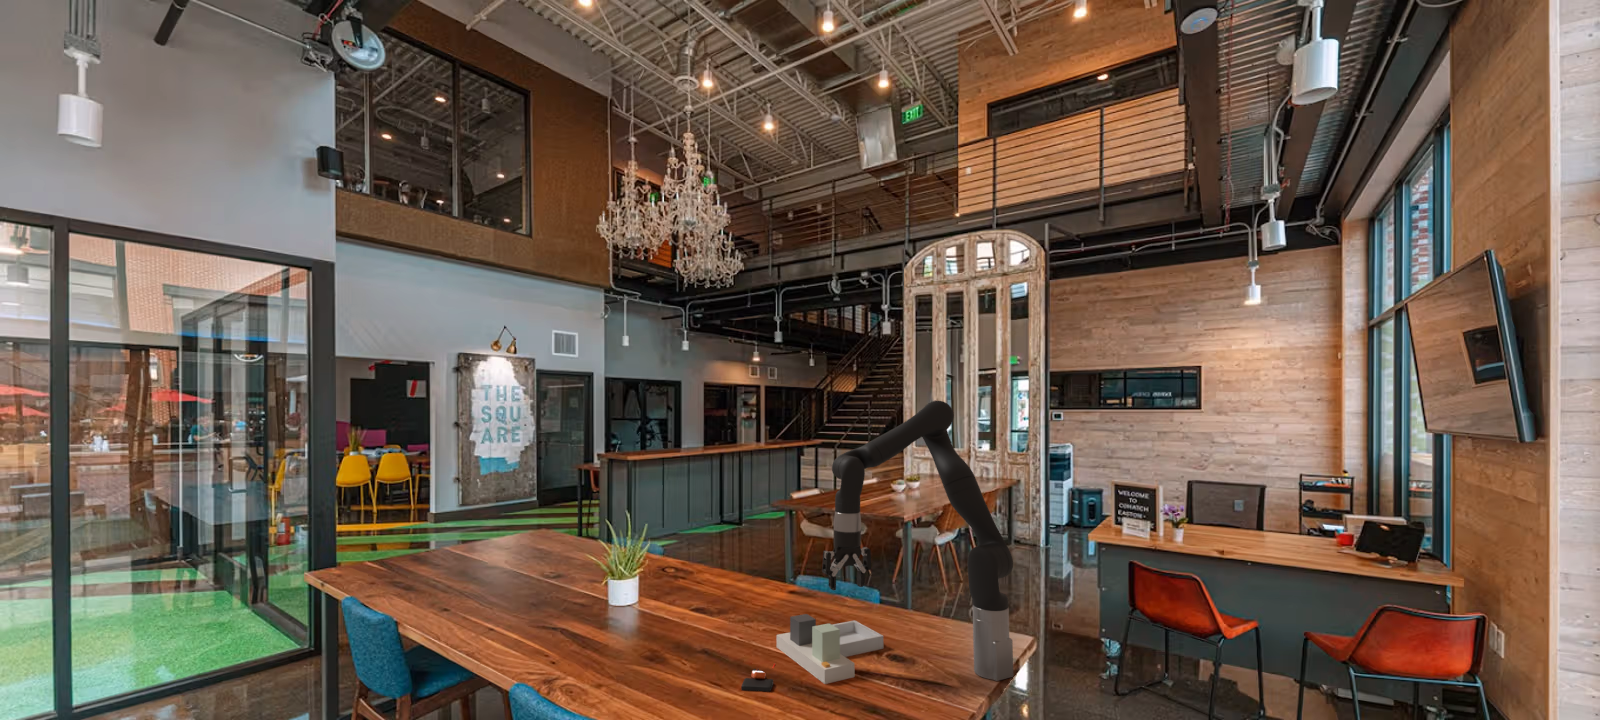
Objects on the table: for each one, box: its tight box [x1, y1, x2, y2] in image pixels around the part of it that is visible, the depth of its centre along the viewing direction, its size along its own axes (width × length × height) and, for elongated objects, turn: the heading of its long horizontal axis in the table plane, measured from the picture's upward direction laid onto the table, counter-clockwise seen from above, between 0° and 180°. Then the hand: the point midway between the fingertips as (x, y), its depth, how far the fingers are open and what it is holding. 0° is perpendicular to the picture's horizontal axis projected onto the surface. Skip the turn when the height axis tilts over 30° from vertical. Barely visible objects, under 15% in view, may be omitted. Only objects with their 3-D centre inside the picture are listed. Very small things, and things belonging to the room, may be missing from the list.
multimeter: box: [740, 662, 776, 693], centre depth 162 cm, size 18×12×3 cm, turn 169°
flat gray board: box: [776, 632, 856, 685], centre depth 172 cm, size 28×9×4 cm, turn 28°
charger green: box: [812, 622, 840, 662], centre depth 166 cm, size 5×5×10 cm
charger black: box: [789, 613, 817, 646], centre depth 177 cm, size 5×5×9 cm
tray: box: [832, 619, 884, 658], centre depth 184 cm, size 15×15×4 cm
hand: (846, 587), depth 171 cm, fingers open, 8 cm apart
